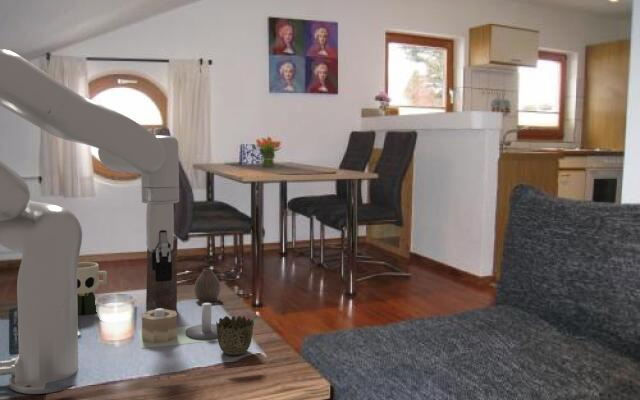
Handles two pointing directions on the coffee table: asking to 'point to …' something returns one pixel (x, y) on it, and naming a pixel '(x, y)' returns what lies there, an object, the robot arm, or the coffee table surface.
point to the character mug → (88, 286)
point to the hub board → (188, 330)
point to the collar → (159, 326)
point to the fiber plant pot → (234, 335)
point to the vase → (207, 286)
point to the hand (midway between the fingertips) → (161, 275)
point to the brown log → (162, 285)
